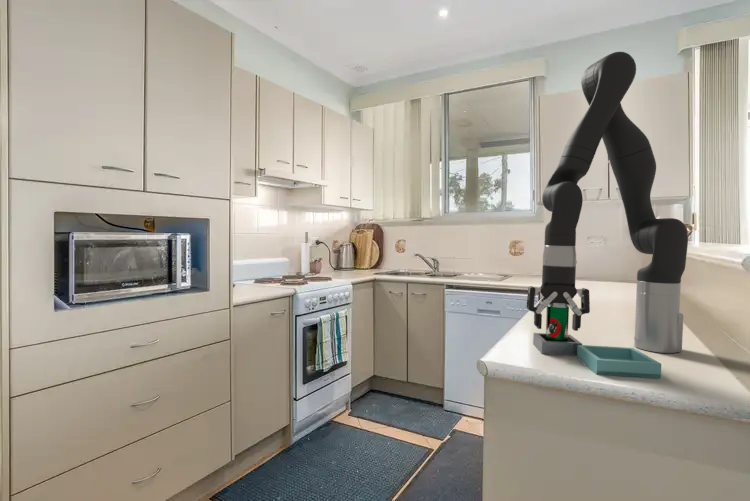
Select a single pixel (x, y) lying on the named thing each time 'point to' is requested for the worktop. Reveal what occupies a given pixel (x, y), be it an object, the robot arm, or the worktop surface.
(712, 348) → the worktop surface
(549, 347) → the grey square bin
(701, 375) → the worktop surface
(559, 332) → the soda can
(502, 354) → the worktop surface
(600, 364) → the tray
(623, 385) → the worktop surface
